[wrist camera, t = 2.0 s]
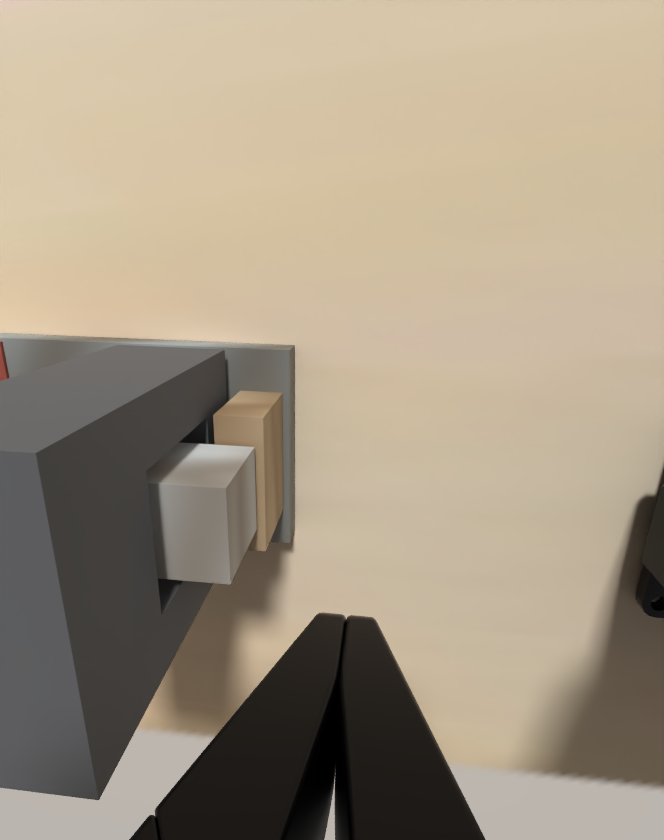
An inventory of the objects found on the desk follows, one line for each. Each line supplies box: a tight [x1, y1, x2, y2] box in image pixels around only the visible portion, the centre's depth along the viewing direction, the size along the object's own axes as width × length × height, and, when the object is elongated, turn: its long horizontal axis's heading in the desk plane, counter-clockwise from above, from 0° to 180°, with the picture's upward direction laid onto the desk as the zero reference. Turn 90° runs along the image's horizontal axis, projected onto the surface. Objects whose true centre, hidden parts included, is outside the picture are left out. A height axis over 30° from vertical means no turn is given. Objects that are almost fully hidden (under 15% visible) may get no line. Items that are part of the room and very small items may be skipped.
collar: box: [0, 345, 227, 800], centre depth 10 cm, size 3×6×7 cm, turn 178°
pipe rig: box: [0, 333, 295, 585], centre depth 13 cm, size 14×6×6 cm, turn 88°
